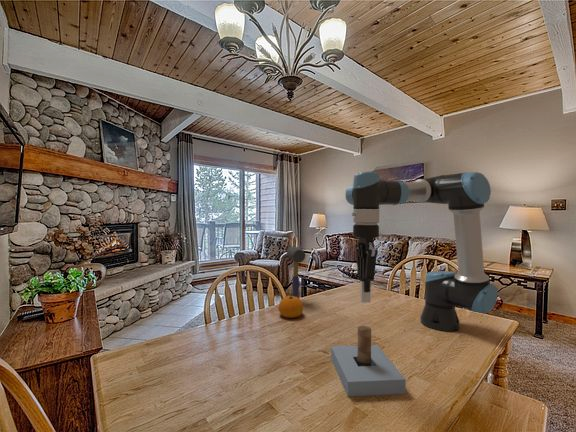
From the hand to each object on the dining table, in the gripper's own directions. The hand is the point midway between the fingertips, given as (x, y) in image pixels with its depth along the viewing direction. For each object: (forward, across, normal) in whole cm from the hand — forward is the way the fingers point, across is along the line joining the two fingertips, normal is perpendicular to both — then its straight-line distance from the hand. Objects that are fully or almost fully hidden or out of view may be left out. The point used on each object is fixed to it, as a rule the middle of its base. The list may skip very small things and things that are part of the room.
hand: (365, 301), depth 88 cm
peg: (+22, 0, 0) cm, 22 cm away
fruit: (+23, -50, -18) cm, 58 cm away
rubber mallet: (+23, -67, -14) cm, 72 cm away
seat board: (+22, 0, 0) cm, 22 cm away
